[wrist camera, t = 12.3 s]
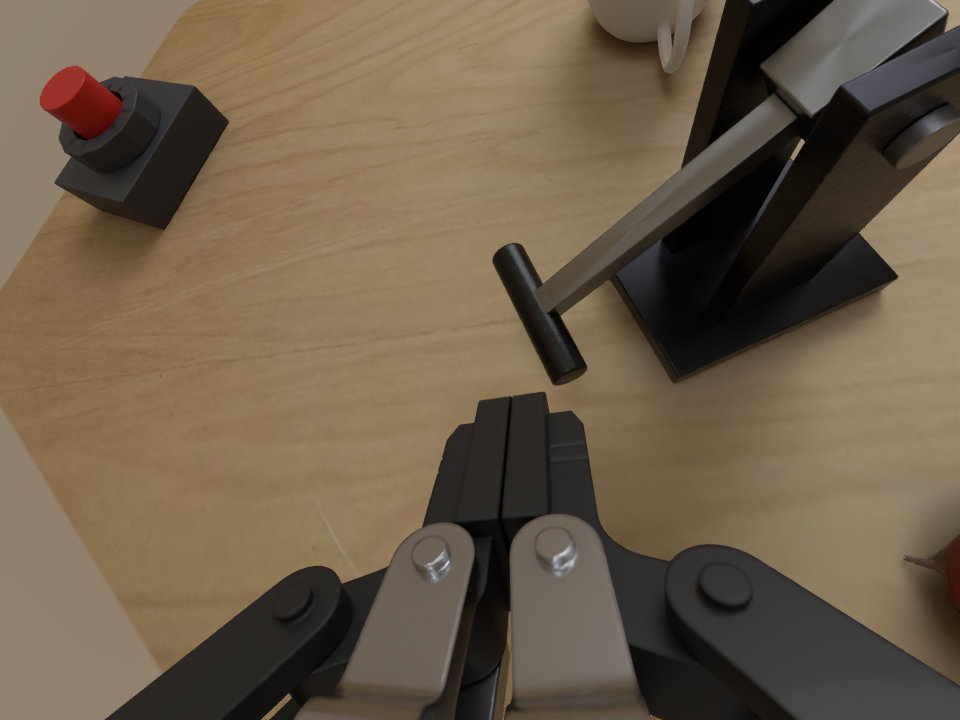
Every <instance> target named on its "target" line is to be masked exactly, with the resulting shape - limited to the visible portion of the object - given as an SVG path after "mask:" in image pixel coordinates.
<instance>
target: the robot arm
mask: <svg viewBox="0 0 960 720" xmlns="http://www.w3.org/2000/svg"><path fill="white" fill-rule="evenodd" d="M442 457H443V460H441V463H440V467H439V470H438V471H439V474H437V477H436V481H435V484H434V487H433V491H432V494H431V498H430V501H429V505H428V508H427V512H426V515H425V519H424V522H423V526H422V528H420V529H418V530H416V531H415V532H413V533H412V534H410V535H409V536H408V537H407V538H406V539H405V540H404V541H403V542H402V543H401V544H400V545H399V547H398V548H397V549H396V551H395V553H394V555H393V557H392V559H391V562H390V564H389V566H388V567H386V568H384V569H381V570H379V571H376V572H374V573H371V574H368V575H365V576H363V577H360V578H357V579H354V580H351V581H349V582H346V583H343V584H342V583H341V581H340V579H339V577H338V576H337V574H336V573H335V572H334V571H333V570H332V569H330V568H328V567H324V566H312V567H307V568H304V569H301V570H298V571H296V572H294V573H292V574H290V575H289V576H287V577H285V578H284V579H283V580H281V581H280V582H279V583H277V584H276V585H275V586H273V587H272V588H271V589H270V590H268V591H267V592H266V593H265V594H263V595H262V596H261V597H260V598H258V599H257V600H256V601H254V602H253V603H252V604H251V605H249V606H248V607H247V608H246V609H244V610H243V611H242V612H241V613H239V614H238V615H237V616H235V617H234V618H233V619H232V620H230V621H229V622H228V623H227V624H225V625H224V626H223V627H222V628H220V629H219V630H218V631H216V632H215V633H214V634H213V635H211V636H210V637H209V638H208V639H206V640H205V641H204V642H203V643H201V644H200V645H199V646H197V647H196V648H195V649H194V650H192V651H191V652H190V653H189V654H187V655H186V656H185V657H184V658H182V659H181V660H180V661H178V662H177V663H176V664H175V665H173V666H172V667H171V668H170V669H168V670H167V671H166V672H165V673H163V674H162V675H161V676H159V677H158V678H157V679H156V680H154V681H153V682H152V683H151V684H149V685H148V686H147V687H146V688H144V689H143V690H142V691H140V692H139V693H138V694H137V695H135V696H134V697H133V698H132V699H130V700H129V701H128V702H126V703H125V704H124V705H123V706H121V707H120V708H119V709H118V710H116V711H115V712H114V713H113V714H111V715H110V716H109V717H107V718H106V719H105V720H261V719H262V718H263V717H264V716H265V715H266V714H267V713H268V712H269V711H270V710H271V709H272V708H274V707H275V706H276V705H277V704H278V703H279V702H280V701H281V700H282V699H283V698H284V697H285V696H286V695H287V694H288V693H289V694H290V695H291V697H292V699H290V700H289V701H288V702H287V703H286V704H285V705H284V706H283V707H282V708H281V709H280V710H279V711H278V712H277V713H276V714H275V715H274V716H273V717H272V718H271V719H270V720H502V719H503V710H504V702H505V694H506V685H507V677H508V669H509V658H510V653H509V646H508V643H507V631H508V613H509V611H511V637H512V680H513V689H512V700H511V703H510V704H509V705H508V706H507V707H506V711H505V716H504V720H651V718H650V715H653V716H655V717H658V718H660V719H663V720H960V686H959V685H958V684H956V683H954V682H953V681H951V680H950V679H948V678H946V677H945V676H943V675H942V674H940V673H938V672H937V671H935V670H934V669H932V668H931V667H929V666H927V665H926V664H924V663H923V662H921V661H919V660H918V659H916V658H915V657H913V656H911V655H910V654H908V653H907V652H905V651H903V650H902V649H900V648H899V647H897V646H896V645H894V644H892V643H891V642H889V641H888V640H886V639H884V638H883V637H881V636H880V635H878V634H876V633H875V632H873V631H872V630H870V629H869V628H867V627H865V626H864V625H862V624H861V623H859V622H857V621H856V620H854V619H853V618H851V617H849V616H848V615H846V614H845V613H843V612H842V611H840V610H838V609H837V608H835V607H834V606H832V605H830V604H829V603H827V602H826V601H824V600H822V599H821V598H819V597H818V596H816V595H814V594H813V593H811V592H810V591H808V590H807V589H805V588H803V587H802V586H800V585H799V584H797V583H795V582H794V581H792V580H791V579H789V578H787V577H786V576H784V575H783V574H781V573H780V572H778V571H776V570H775V569H773V568H772V567H770V566H768V565H767V564H765V563H764V562H762V561H760V560H759V559H757V558H755V557H754V556H752V555H750V554H748V553H746V552H743V551H741V550H739V549H735V548H732V547H728V546H723V545H714V544H705V545H697V546H693V547H690V548H687V549H685V550H683V551H681V552H680V553H679V554H677V555H676V556H675V557H674V558H673V559H672V560H671V561H666V560H661V559H657V558H653V557H648V556H644V555H641V554H637V553H634V552H632V551H630V550H627V549H625V548H624V547H622V546H620V545H619V544H617V543H616V542H615V541H614V540H612V539H611V538H610V537H609V536H608V535H607V533H606V532H605V531H604V529H603V528H602V526H601V524H600V521H599V518H598V513H597V507H596V501H595V494H594V488H593V482H592V476H591V469H590V463H589V457H588V450H587V444H586V438H585V432H584V425H583V423H582V422H581V421H580V420H579V419H578V417H577V416H576V415H575V414H574V413H573V412H572V411H565V412H557V413H549V408H548V402H547V398H546V394H545V392H538V393H531V394H523V395H516V396H513V397H511V396H509V397H502V398H495V399H487V400H480V401H479V403H478V408H477V412H476V417H475V422H474V423H470V424H462V425H459V426H458V428H457V429H456V430H455V431H454V432H453V434H452V435H451V436H450V437H449V438H448V440H447V442H446V446H445V449H444V453H443V456H442ZM649 714H650V715H649Z"/></svg>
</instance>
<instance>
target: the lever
mask: <svg viewBox="0 0 960 720" xmlns="http://www.w3.org/2000/svg"><path fill="white" fill-rule="evenodd" d="M948 16H949V12H948V10H946V9H945V8H944V7H942V6H941V5H940V4H938V3H937V2H936V1H934V0H832V1H831V2H830V3H829V4H828V5H827V6H825V7H824V8H823V9H822V10H821V11H820V12H819V13H817V14H816V15H815V16H814V17H813V18H812V19H811V20H809V21H808V22H807V23H806V24H805V25H804V26H803V27H802V28H800V29H799V30H798V31H797V32H796V33H795V34H794V35H792V36H791V37H790V38H789V39H788V40H787V41H786V42H785V43H783V44H782V45H781V46H780V47H779V48H778V49H777V50H775V51H774V52H773V53H772V54H771V55H770V56H769V57H767V58H766V59H765V60H764V61H763V62H762V63H761V64H760V70H761V73H762V76H763V79H764V82H765V85H766V89H767V92H768V95H769V97H767V98H766V99H765V100H764V101H763V102H761V103H760V104H759V105H758V106H757V107H755V108H754V109H753V110H752V111H751V112H749V113H748V114H747V115H746V116H745V117H743V118H742V119H741V120H740V121H739V122H737V123H736V124H735V125H734V126H732V127H731V128H730V129H729V130H728V131H726V132H725V133H724V134H723V135H722V136H720V137H719V138H718V139H717V140H716V141H714V142H713V143H712V144H711V145H710V146H708V147H707V148H706V149H705V150H704V151H702V152H701V153H700V154H699V155H698V156H696V157H695V158H694V159H693V160H692V161H690V162H689V163H688V164H687V165H686V166H684V167H683V168H682V169H681V170H680V171H678V172H677V173H676V174H675V175H674V176H672V177H671V178H670V179H669V180H668V181H666V182H665V183H664V184H663V185H662V186H660V187H659V188H658V189H657V190H656V191H654V192H653V193H652V194H651V195H650V196H648V197H647V198H646V199H645V200H644V201H642V202H641V203H640V204H639V205H638V206H636V207H635V208H634V209H633V210H632V211H630V212H629V213H628V214H627V215H626V216H624V217H623V218H622V219H621V220H619V221H618V222H617V223H616V224H615V225H613V226H612V227H611V228H610V229H609V230H607V231H606V232H605V233H604V234H603V235H601V236H600V237H599V238H598V239H597V240H595V241H594V242H593V243H592V244H591V245H589V246H588V247H587V248H586V249H585V250H583V251H582V252H581V253H580V254H579V255H577V256H576V257H575V258H574V259H573V260H571V261H570V262H569V263H568V264H567V265H565V266H564V267H563V268H562V269H561V270H559V271H558V272H557V273H556V274H555V275H553V276H552V277H551V278H550V279H549V280H547V281H546V282H545V283H544V284H543V283H542V281H541V279H540V277H539V275H538V273H537V272H536V270H535V268H534V266H533V264H532V262H531V260H530V259H529V257H528V255H527V253H526V251H525V249H524V247H523V246H522V245H521V244H518V243H512V244H508V245H506V246H504V247H502V248H500V249H499V250H498V251H497V252H496V253H495V255H494V256H493V265H494V267H495V269H496V271H497V273H498V275H499V277H500V279H501V281H502V283H503V285H504V287H505V289H506V291H507V293H508V295H509V297H510V299H511V301H512V303H513V305H514V307H515V309H516V311H517V313H518V315H519V317H520V319H521V321H522V323H523V325H524V327H525V329H526V331H527V334H528V336H529V338H530V340H531V342H532V344H533V346H534V348H535V350H536V352H537V354H538V356H539V358H540V360H541V362H542V364H543V366H544V368H545V370H546V372H547V374H548V376H549V378H550V380H551V382H552V384H553V385H555V386H558V385H563V384H566V383H569V382H571V381H573V380H575V379H577V378H579V377H580V376H582V375H583V374H584V373H585V372H586V371H587V365H586V363H585V361H584V359H583V358H582V356H581V354H580V352H579V350H578V348H577V346H576V344H575V343H574V341H573V339H572V337H571V335H570V333H569V331H568V330H567V328H566V326H565V324H564V322H563V320H562V318H561V315H562V314H563V313H565V312H566V311H567V310H569V309H570V308H571V307H572V306H574V305H575V304H576V303H578V302H579V301H580V300H582V299H583V298H584V297H586V296H587V295H588V294H590V293H591V292H592V291H594V290H595V289H596V288H598V287H599V286H600V285H602V284H603V283H604V282H606V281H607V280H608V279H610V278H611V277H612V276H614V275H615V274H616V273H617V272H619V271H620V270H621V269H623V268H624V267H625V266H627V265H628V264H629V263H631V262H632V261H633V260H635V259H636V258H637V257H639V256H640V255H641V254H643V253H644V252H645V251H647V250H648V249H649V248H651V247H652V246H653V245H655V244H656V243H657V242H658V241H660V240H661V239H662V238H664V237H665V236H666V235H668V234H669V233H670V232H672V231H673V230H674V229H676V228H677V227H678V226H680V225H681V224H682V223H684V222H685V221H686V220H688V219H689V218H690V217H692V216H693V215H694V214H696V213H697V212H698V211H700V210H701V209H702V208H703V207H705V206H706V205H707V204H709V203H710V202H711V201H713V200H714V199H715V198H717V197H718V196H719V195H721V194H722V193H723V192H725V191H726V190H727V189H729V188H730V187H731V186H733V185H734V184H735V183H737V182H738V181H739V180H741V179H742V178H743V177H744V176H746V175H747V174H748V173H750V172H751V171H752V170H754V169H755V168H756V167H758V166H759V165H760V164H762V163H763V162H764V161H766V160H767V159H768V158H770V157H771V156H772V155H774V154H775V153H776V152H778V151H779V150H780V149H782V148H783V147H784V146H786V145H787V144H788V143H789V142H791V141H792V140H793V139H795V138H796V137H797V136H800V137H801V138H802V139H803V140H804V141H806V140H807V138H808V136H809V135H810V133H811V131H812V130H813V128H814V126H815V125H816V123H817V121H818V120H819V118H820V116H821V115H822V113H823V111H824V110H825V108H826V106H827V105H828V103H829V101H830V100H831V98H832V96H833V95H834V93H835V91H836V90H837V88H838V87H840V86H841V85H842V84H844V83H846V82H848V81H850V80H852V79H854V78H856V77H858V76H860V75H862V74H864V73H866V72H868V71H870V70H872V69H874V68H876V67H878V66H880V65H882V64H884V63H886V62H888V61H890V60H892V59H894V58H896V57H898V56H900V55H902V54H904V53H906V52H908V51H910V50H912V49H914V48H916V47H918V46H920V45H922V44H924V43H926V42H928V41H930V40H932V39H934V38H936V37H938V36H940V35H942V34H944V32H945V28H946V24H947V20H948Z"/></svg>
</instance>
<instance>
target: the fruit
mask: <svg viewBox="0 0 960 720" xmlns="http://www.w3.org/2000/svg"><path fill="white" fill-rule="evenodd" d="M904 556H905V557H906V558H904V560H906V561H909V562H913V563H915V564H917V565H921V566H924V567H927V568H929V569H933V570H936V571H937V572H939V573H940V574H941V575H942V576H943V577H944V579H945V580H946V583H947V590H948V596H949V598H950V600H951V602H952V603H953V605H954V606H955V607H956V609H957V610H958V611H959V612H960V535H959V536H958V537H956V538H955V539H954V540H953V541H952V542H951V543H950V544H949V545H948V546H947V547H946V548H944V549H943V550H941V551H940V552H938V553H937V554H936V555H934V556H932V557H930V558H928V559H922V558H917V557H912V556H907V555H904Z"/></svg>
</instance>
